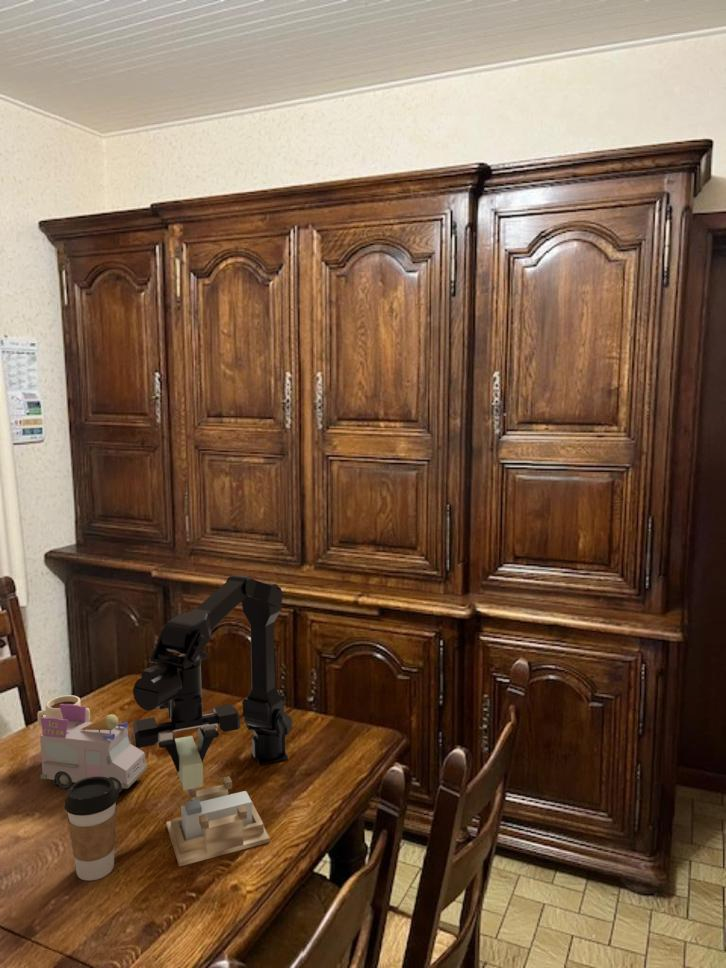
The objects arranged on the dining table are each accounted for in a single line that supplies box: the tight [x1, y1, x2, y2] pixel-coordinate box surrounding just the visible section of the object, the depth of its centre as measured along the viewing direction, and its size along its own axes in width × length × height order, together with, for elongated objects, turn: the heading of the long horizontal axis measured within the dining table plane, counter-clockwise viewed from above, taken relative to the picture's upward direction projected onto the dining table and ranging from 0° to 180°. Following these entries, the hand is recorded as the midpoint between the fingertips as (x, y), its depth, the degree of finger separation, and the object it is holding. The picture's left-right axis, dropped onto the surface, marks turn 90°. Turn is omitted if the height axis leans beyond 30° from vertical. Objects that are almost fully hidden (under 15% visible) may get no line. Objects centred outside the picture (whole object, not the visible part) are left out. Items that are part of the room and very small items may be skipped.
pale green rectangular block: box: [174, 735, 204, 791], centre depth 133 cm, size 4×11×4 cm, turn 23°
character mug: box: [37, 694, 91, 726], centre depth 158 cm, size 11×7×13 cm, turn 98°
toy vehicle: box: [39, 704, 148, 795], centre depth 148 cm, size 9×20×15 cm, turn 78°
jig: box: [166, 776, 271, 867], centre depth 131 cm, size 16×13×7 cm
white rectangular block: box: [180, 790, 253, 841], centre depth 131 cm, size 12×4×6 cm, turn 114°
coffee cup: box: [64, 776, 119, 881], centre depth 121 cm, size 8×8×15 cm
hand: (188, 768), depth 133 cm, fingers closed on pale green rectangular block, 3 cm apart
